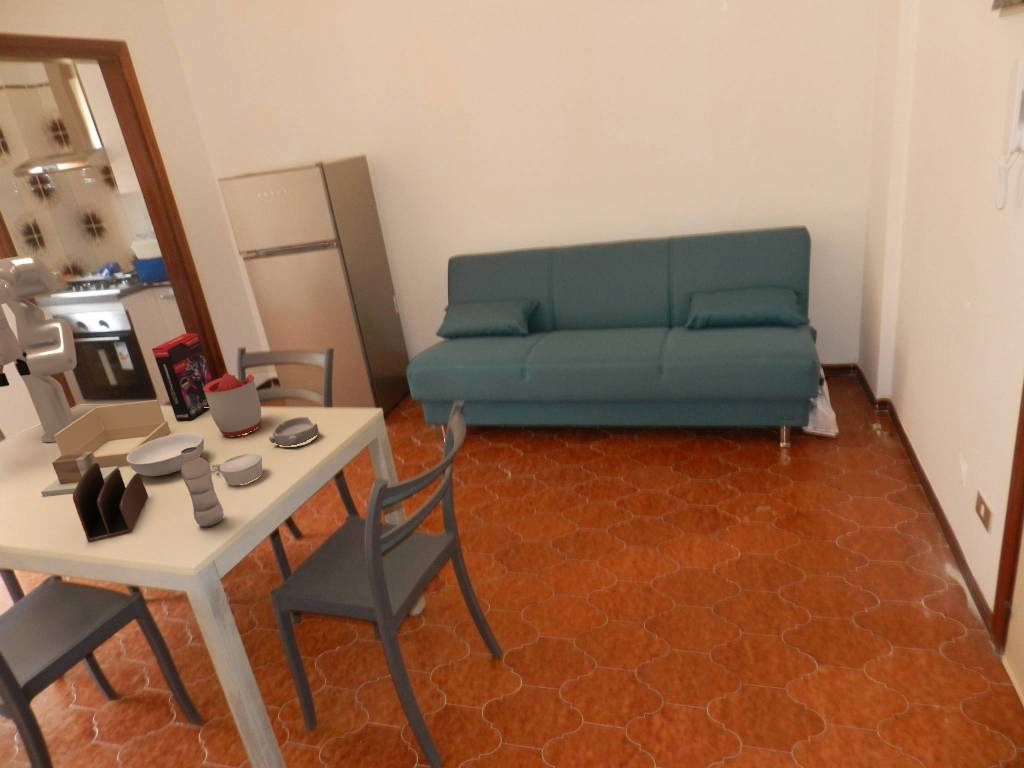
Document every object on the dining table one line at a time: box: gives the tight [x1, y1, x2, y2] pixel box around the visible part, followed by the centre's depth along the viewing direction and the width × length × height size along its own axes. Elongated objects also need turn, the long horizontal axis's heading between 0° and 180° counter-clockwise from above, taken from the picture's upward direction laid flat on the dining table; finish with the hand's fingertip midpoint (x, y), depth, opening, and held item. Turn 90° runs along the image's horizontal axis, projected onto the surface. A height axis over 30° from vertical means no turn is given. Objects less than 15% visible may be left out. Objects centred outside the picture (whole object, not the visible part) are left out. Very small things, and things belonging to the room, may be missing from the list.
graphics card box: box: [151, 332, 213, 422], centre depth 243 cm, size 17×7×27 cm, turn 168°
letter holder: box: [72, 463, 149, 543], centre depth 176 cm, size 10×20×14 cm, turn 16°
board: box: [40, 466, 120, 497], centre depth 201 cm, size 12×16×2 cm
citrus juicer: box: [203, 372, 262, 438], centre depth 223 cm, size 16×17×20 cm
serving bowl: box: [126, 432, 205, 477], centre depth 203 cm, size 21×21×7 cm
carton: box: [54, 399, 171, 468], centre depth 219 cm, size 24×22×12 cm
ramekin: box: [219, 452, 264, 486], centre depth 190 cm, size 11×11×5 cm
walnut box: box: [51, 452, 96, 484], centre depth 200 cm, size 5×9×7 cm, turn 90°
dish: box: [268, 416, 319, 446], centre depth 212 cm, size 14×14×5 cm
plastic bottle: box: [180, 447, 225, 528], centre depth 166 cm, size 6×7×20 cm
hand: (14, 380), depth 209 cm, fingers open, 9 cm apart
